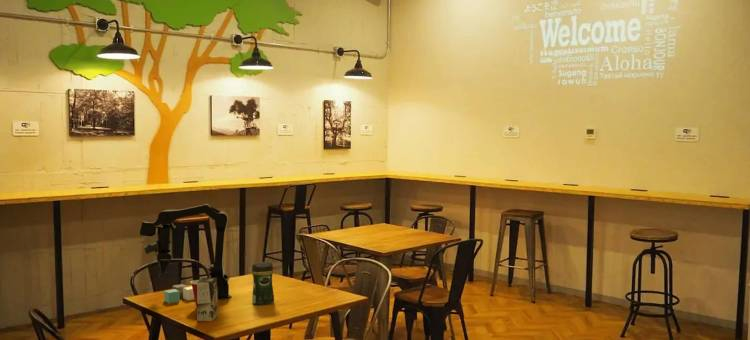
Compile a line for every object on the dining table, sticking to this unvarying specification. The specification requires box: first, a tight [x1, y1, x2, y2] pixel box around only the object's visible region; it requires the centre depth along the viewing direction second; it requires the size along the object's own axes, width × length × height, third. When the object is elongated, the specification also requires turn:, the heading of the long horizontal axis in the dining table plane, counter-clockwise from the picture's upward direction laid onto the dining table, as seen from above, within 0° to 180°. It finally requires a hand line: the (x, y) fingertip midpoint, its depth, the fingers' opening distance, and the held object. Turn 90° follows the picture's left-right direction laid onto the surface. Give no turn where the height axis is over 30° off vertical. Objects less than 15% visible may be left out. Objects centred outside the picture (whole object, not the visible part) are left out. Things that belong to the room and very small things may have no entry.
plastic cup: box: [190, 279, 200, 309], centre depth 298 cm, size 11×11×12 cm
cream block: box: [182, 285, 195, 301], centre depth 315 cm, size 5×5×5 cm
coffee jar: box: [251, 261, 275, 306], centre depth 306 cm, size 10×8×19 cm
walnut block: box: [172, 283, 188, 298], centre depth 319 cm, size 5×5×5 cm
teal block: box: [163, 288, 181, 304], centre depth 309 cm, size 5×5×5 cm
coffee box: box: [196, 277, 219, 322], centre depth 282 cm, size 9×6×16 cm
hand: (161, 271), depth 312 cm, fingers open, 9 cm apart
